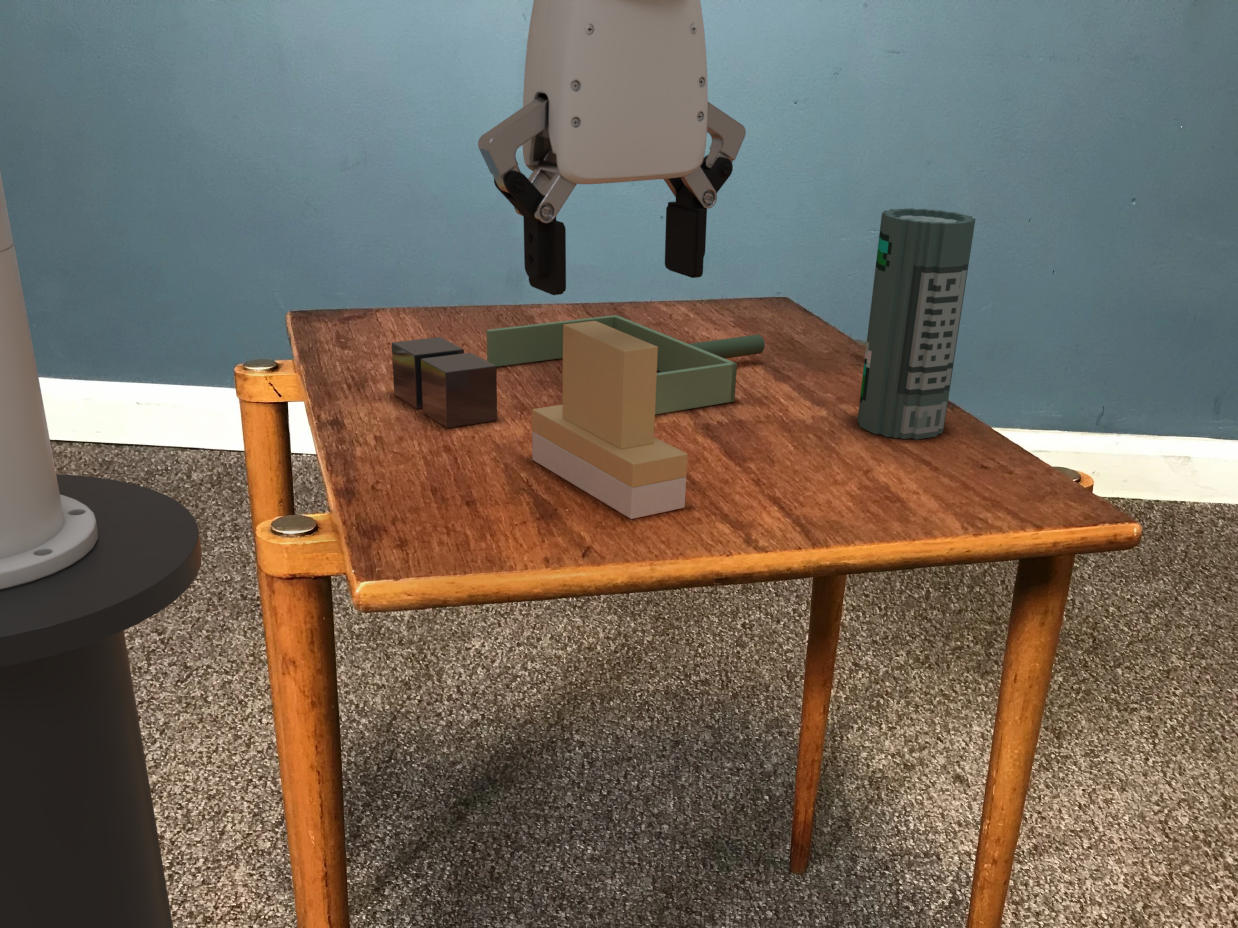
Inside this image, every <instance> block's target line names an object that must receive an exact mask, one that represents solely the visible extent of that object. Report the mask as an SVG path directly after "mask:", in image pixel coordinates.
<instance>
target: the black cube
mask: <svg viewBox="0 0 1238 928" xmlns="http://www.w3.org/2000/svg"><path fill="white" fill-rule="evenodd" d="M497 368H498V367H496V366H495V365H493V364H492V363H490V362H488V361H487V359H484V358H482V357H480V356H478V355H476V354H475V353H472V352H466V353H465V352H464V353H463V354H455V355H447V356H439V357H431V358H423V359H421V377H422V401H423V408H422V413H423V414H424V415H426V416H427V417H429V418H431V419H432V420H433V421H435V422H437V423H438V424H440V425H442V426H443V427H445V428H447V429H450V428H451V429H452V428H457V427H463V426H470V425H476V424H483V423H488V422H489V423H490V422H496V421H498V377H497V375H498V373H497Z"/></svg>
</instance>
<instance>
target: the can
mask: <svg viewBox="0 0 1238 928" xmlns="http://www.w3.org/2000/svg"><path fill="white" fill-rule="evenodd" d="M975 225H976V218H973V216H971V215H967V214H964V213H959V212H955V211H946V210H942V209H939V210H937V209H929V208H913V207H910V208H908V207H907V208H890V209H889V210H884V211H882V212H881V217H880V227H879V235H878V241H877V251H876V260H875V269H874V275H873V276H874V277H873V286H872V293H871V301H870V310H869V317H868V318H869V319H868V327H867V334H866V343H865V344H866V345H865V353H864V361H863V368H862V369H863V371H862V377H861V387H860V393H859V394H860V395H859V402H858V411H857V420H856V423H857V424H859V425H858V427H859V428H862V429H863V430H866V431H868V432H869V433H872V434H874V435H882V436H884V437H886V438H893V439H901V440H908V439H913V440H921V439H928V438H930V439H931V438H936V437H938V435H942V434H943V432H944V430H945V424H946V417H947V411H948V403H949V397H950V391H951V384H952V378H953V372H954V371H953V370H954V366H955V365H954V363H955V357H956V351H957V344H958V338H959V331H960V324H961V317H962V312H963V311H962V310H963V304H964V297H965V293H966V286H967V285H966V284H967V278H968V272H969V264H970V260H971V259H970V258H971V251H972V245H973V238H974V232H975Z"/></svg>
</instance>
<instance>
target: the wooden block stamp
mask: <svg viewBox="0 0 1238 928" xmlns="http://www.w3.org/2000/svg"><path fill="white" fill-rule="evenodd" d="M657 356H658V347H657V346H655V345H652V344H650V343H648V342H645V341H643V340H640V339H638V338H636V337H633V336H631V335H628V334H626V333H624V332H621V331H619V330H616V329H614V328H612V327H609V326H607V325H604V324H602V323H600V322H597V321H589V322H580V323H571V324H564V325H563V358H562V401H561V402H562V404H555V405H551V406H544V407H538V408H532V409H531V413H532V414H531V430H532V431H531V434H532V435H531V436H532V437H531V439H532V440H531V454H532V455H531V456H532V457H531V460H532V461H533V462H535V463H537V464H539V465H540V466H542V467H543V468H544V469H547V470H548V471H550V472H552V473H553V474H556V475H557V476H559V477H561V479H563V480H565V481H567V482H569V483H570V484H572V485H574V486H575V487H577V488H578V489H580V490H582V491H583V492H585V493H587V494H588V495H590V496H592V497H593V498H595V499H596V500H598V501H600V502H601V503H604V504H605V505H607V506H609V507H610V508H612V509H613V510H615V511H616V512H618V513H619V514H622V515H624V517H625V516H626V517H627V518H629V520H633V519H639V518H643V517H648V516H653V515H658V514H661V513H667V512H671V511H676V510H680V509H681V510H682V509H684V508H685V507H686V494H687V493H686V492H687V476H688V475H687V474H688V461H689V454H688V453H686V452H685V451H683V450H681V449H679V448H677V447H675V446H673V445H671V444H669V443H667V442H666V441H664V440H661V439H659V438H657V437H655V424H656V423H655V422H656V415H655V401H656V379H657V373H658V370H657Z"/></svg>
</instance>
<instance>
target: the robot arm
mask: <svg viewBox="0 0 1238 928" xmlns="http://www.w3.org/2000/svg"><path fill="white" fill-rule="evenodd" d="M532 2H533V3H532V8H531V14H530V21H529V26H528V27H529V28H528V33H527V43H526V51H525V63H524V78H523V93H522V95H523V96H522V98H523V99H522V108H520V109H518V110H516V111H515V112H514V113H513V114H511V115H509V116H508V117H507V118H505V119H504V120H502V121H501V122H500V123H497V125H494V127H492V128H491V129H489V130H488V131H487V132H484V133H483V134H482V135H481V136H480V137H479V139H478V141H477V147H478V150H479V152H480V154H481V156H482V158H483V160H484V162H485V164H486V166H487V169H488V170H489V173H490V175H492V176H493V183H494V186H495V188H496V189H497V190H498V191H499V192H500V193H501V194H502V196H503V197H504V198H505V199H507V201H508V202H509V203H510V204H511V205H512V206H513V208H514V211H515V213H516V214H517V215H519V216H522V217H523V256H524V257H523V258H524V259H523V261H524V262H523V263H524V271H525V273H526V275H527V277H528V283H529V285H530V287H532V288H534V289H536V290H539V291H542V292H545V293H546V294H549V295H551V296H559V295H560V296H561V295H563V294H564V292H566V290H567V237H566V235H567V231H566V230H567V229H566V225H565V224H564V223H565V222H562V221H559V220H557V216H558V214H559V213H560V211H561V210H562V208H563V207H564V205H565V203H566V202H567V200H568V199H569V197H570V195H571V194H572V192H573V191H574V190H575V188H576V186H577V185H600V184H616V183H628V182H643V181H655V180H663V181H664V182H665V184H666V185H667V187H668V188H669V189H670V191H671V193H672V194H673V196H674V197H675V201H668V202H667V206H666V209H665V239H664V241H665V243H664V267H665V268H666V269H667V270H668V271H670V272H673V273H677V274H679V275H682V276H685V277H688V278H690V279H698V278H701V277H702V276H703V273H704V259H705V258H704V257H705V256H706V244H707V242H706V241H707V220H708V219H707V218H708V209H712V208H713V207H714V206H715V204H716V203H717V201H718V192H719V191H721V189H722V187H723V186H724V184H726V182H727V180H728V179H729V178H730V177H731V175H732V173H733V171H734V166H733V162H734V161H736V159H737V157H738V154H739V151H740V150H741V147H742V145H743V142H744V140H745V137H746V132H747V131H746V127H745V126H744V125H743V124H742V123H740V122H739V121H737V120H736V119H735V118H733V117H731V116H730V115H729V114H727V113H725V112H724V111H722V110H721V109H719V108H718V107H717V106H715V105H714V104H712V103H711V102H709V100H708V99H709V98H708V94H709V93H708V92H709V91H708V89H709V88H708V61H707V47H706V36H705V35H706V34H705V25H704V17H703V9H702V3H701V0H533V1H532ZM708 134H709V135H710V137H711V143H710V145H709V152H708V154H707V155H705V154H706V147H707V136H708ZM521 146H522V157H523V162H524V165H525V166H526V168H527V169H529V170H530V171H531V174H530V175H529V177H527V176H526V175H525V174H524V173H523V172H522V171H521V170H520V168H519V163H518V161H517V157H516V154H517V150H518V149H520V147H521ZM8 210H9V209H8V205H7V199H6V195H5V188H4V183H3V178H2V173H1V171H0V590H3V589H8V588H12V587H16V586H19V585H23V584H27V583H31V582H33V581H36V580H39V579H42V578H45V577H48V576H50V575H53V574H55V573H57V572H59V571H61V570H63V569H66V568H68V567H70V566H71V565H73V564H74V563H76V562H77V561H79V560H80V559H82V558H83V557H84V556H85V555H86V554H87V553H88V552H89V551H90V550H91V549H92V548H93V547H94V545H95V543H96V541H97V539H98V529H97V523H96V519H95V516H94V513H93V512H92V511H91V510H90V509H89V508H88V507H87V506H86V505H84V504H82V503H81V502H79V501H77V500H75V499H72V498H70V497H67V496H64V495H60V493H59V487H58V482H57V476H56V474H57V471H56V466H55V459H54V455H53V449H52V444H51V438H50V433H49V426H48V422H47V416H46V410H45V406H44V400H43V399H44V398H43V394H42V389H41V383H40V378H39V372H38V368H37V361H36V357H35V351H34V345H33V344H34V343H33V339H32V333H31V329H30V323H29V318H28V313H27V312H28V311H27V307H26V301H25V296H24V289H23V284H22V279H21V274H20V267H19V263H18V257H17V252H16V246H15V242H14V239H13V238H14V237H13V232H12V226H11V222H10V217H9V211H8Z"/></svg>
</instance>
